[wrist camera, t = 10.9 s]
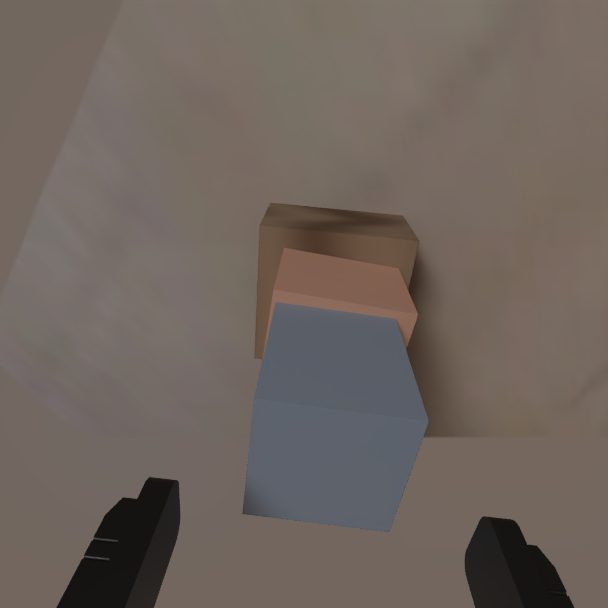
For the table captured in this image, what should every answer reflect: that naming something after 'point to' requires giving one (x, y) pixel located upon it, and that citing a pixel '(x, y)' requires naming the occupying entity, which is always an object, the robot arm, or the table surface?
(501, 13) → the table surface
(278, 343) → the slate block
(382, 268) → the top block
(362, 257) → the base block
